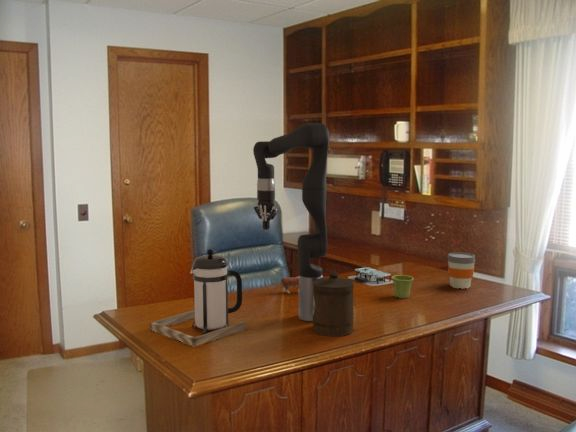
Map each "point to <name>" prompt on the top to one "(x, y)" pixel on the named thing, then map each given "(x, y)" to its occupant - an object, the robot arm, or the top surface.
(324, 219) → the robot arm
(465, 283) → the reusable coffee cup
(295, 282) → the bull figurine
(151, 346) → the top surface
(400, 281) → the plant pot
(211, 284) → the coffee press
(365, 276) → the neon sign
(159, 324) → the birch stand
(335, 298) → the wooden container
